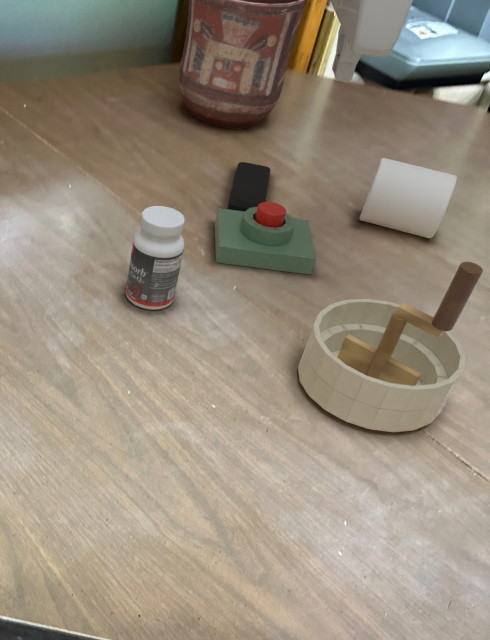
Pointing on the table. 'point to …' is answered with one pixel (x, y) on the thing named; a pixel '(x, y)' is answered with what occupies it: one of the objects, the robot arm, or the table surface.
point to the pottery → (237, 58)
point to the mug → (408, 198)
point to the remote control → (249, 186)
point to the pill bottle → (156, 258)
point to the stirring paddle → (380, 359)
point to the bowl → (370, 393)
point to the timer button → (270, 214)
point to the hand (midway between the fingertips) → (340, 77)
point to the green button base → (263, 242)
